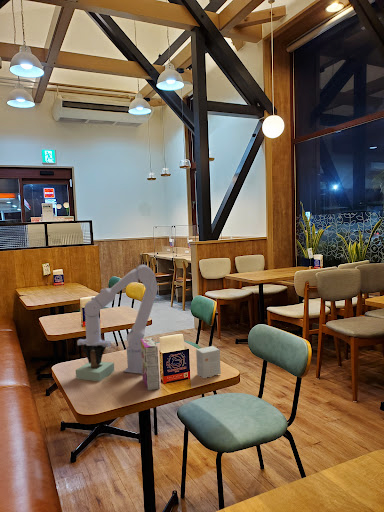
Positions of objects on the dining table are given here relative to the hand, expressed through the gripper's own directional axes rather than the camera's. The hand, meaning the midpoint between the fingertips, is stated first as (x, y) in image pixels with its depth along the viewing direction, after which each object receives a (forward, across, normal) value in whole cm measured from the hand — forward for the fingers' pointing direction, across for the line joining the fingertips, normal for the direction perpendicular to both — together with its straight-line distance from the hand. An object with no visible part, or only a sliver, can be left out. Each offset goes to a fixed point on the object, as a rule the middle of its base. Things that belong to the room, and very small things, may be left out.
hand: (95, 363), depth 154 cm
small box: (+5, +45, +11) cm, 47 cm away
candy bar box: (+5, +26, -3) cm, 27 cm away
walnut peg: (+3, 0, 0) cm, 3 cm away
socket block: (+5, 0, 0) cm, 5 cm away
